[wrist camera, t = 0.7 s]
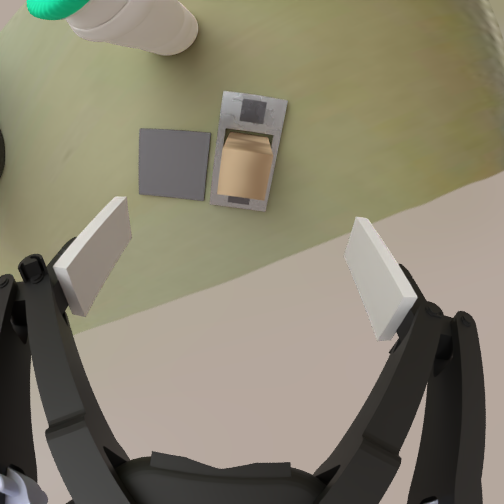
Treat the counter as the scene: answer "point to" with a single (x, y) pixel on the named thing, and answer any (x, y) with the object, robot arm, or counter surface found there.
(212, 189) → the plate with rectangular hole
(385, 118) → the counter surface
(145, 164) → the mat
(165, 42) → the white bottle
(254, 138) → the peg
